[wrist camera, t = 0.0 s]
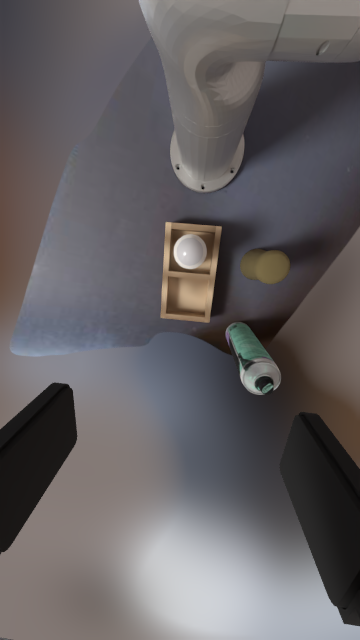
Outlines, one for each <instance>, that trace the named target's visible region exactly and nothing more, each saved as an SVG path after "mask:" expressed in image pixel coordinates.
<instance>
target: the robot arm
mask: <svg viewBox="0 0 360 640" xmlns="http://www.w3.org/2000/svg"><path fill="white" fill-rule="evenodd" d="M139 3H140V6H141V9H142V12H143V15H144V17H145V20H146V23H147V25H148V27H149V30H150V32H151V35H152V37H153V40H154V42H155V44H156V46H157V49H158V51H159V54H160V57H161V60H162V64H163V68H164V72H165V77H166V82H167V88H168V93H169V99H170V105H171V110H172V116H173V122H174V128H175V130H174V132H173V136H172V139H171V146H170V156H171V162H172V166H173V169H174V171H175V174H176V176H177V177H178V179H179V180H180V182H181V183H182V184H183V185H184V186H186V187H187V188H189V189H190V190H192V191H195V192H198V193H212V192H215V191H218V190H220V189H221V188H223V187H224V186H226V185H227V184H228V183H229V182H230V181H231V180H232V179H233V178H234V176H235V175H236V173H237V171H238V169H239V167H240V165H241V162H242V159H243V155H244V148H245V142H244V134H243V132H244V130H245V127H246V124H247V122H248V119H249V117H250V114H251V111H252V109H253V106H254V104H255V101H256V98H257V96H258V93H259V90H260V87H261V84H262V80H263V76H264V70H265V62H266V61H288V62H314V63H348V62H358V61H360V0H139ZM178 167H179V168H180V169H179V170H177V168H178ZM230 171H233V173H230ZM202 187H204V189H202ZM76 440H77V430H76V419H75V410H74V400H73V390H72V389H71V388H70V387H69V385H68V384H62V383H52V384H51V385H50V386H48V387H47V388H46V389H45V390H44V391H43V392H42V393H41V394H40V395H38V396H37V397H36V398H35V399H34V400H33V401H32V402H31V403H29V404H28V405H27V406H26V407H25V408H24V409H23V410H22V411H20V413H18V414H17V415H16V416H15V417H14V418H13V419H12V420H10V421H9V422H8V423H7V424H6V425H5V426H4V427H3V428H1V429H0V554H1V552H5V551H6V550H7V549H8V548H9V547H10V546H11V544H12V543H13V541H14V540H15V538H16V536H17V535H18V533H19V532H20V530H21V529H22V527H23V525H24V524H25V522H26V521H27V519H28V518H29V516H30V514H31V513H32V511H33V510H34V508H35V507H36V505H37V504H38V502H39V500H40V499H41V497H42V496H43V494H44V493H45V491H46V489H47V488H48V486H49V485H50V483H51V482H52V480H53V479H54V477H55V475H56V474H57V472H58V471H59V469H60V468H61V466H62V464H63V463H64V461H65V460H66V458H67V457H68V455H69V453H70V452H71V450H72V448H73V447H74V445H75V443H76ZM280 471H281V475H282V477H283V480H284V483H285V485H286V488H287V490H288V493H289V496H290V498H291V501H292V503H293V506H294V508H295V511H296V514H297V516H298V519H299V522H300V524H301V526H302V529H303V532H304V535H305V537H306V540H307V542H308V545H309V548H310V550H311V553H312V555H313V558H314V560H315V563H316V566H317V568H318V571H319V574H320V576H321V579H322V581H323V584H324V587H325V589H326V591H327V594H328V596H329V599H330V600H331V602H332V603H333V605H334V606H337V608H338V610H339V613H340V615H341V618H342V620H343V622H344V624H350V625H355V626H360V469H359V468H358V466H357V465H356V464H355V462H354V461H353V460H352V458H351V457H350V456H349V454H348V453H347V452H346V450H345V449H344V448H343V447H342V445H341V444H340V443H339V441H338V440H337V439H336V437H335V436H334V435H333V433H332V432H331V431H330V429H329V428H328V427H327V425H326V424H325V423H324V421H323V420H322V419H321V418H320V416H319V415H317V414H313V413H306V412H300V413H299V415H296V416H295V418H294V420H293V424H292V427H291V430H290V433H289V436H288V439H287V443H286V446H285V449H284V453H283V455H282V458H281V462H280ZM0 640H11V639H5V638H0Z"/></svg>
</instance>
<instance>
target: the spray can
mask: <svg viewBox="0 0 360 640" xmlns="http://www.w3.org/2000/svg"><path fill="white" fill-rule="evenodd" d="M226 338H227V341H228V344H229V347H230V349H231V352H232V355H233V357H234V361H235V363H236V366H237V369H238V372H239V375H240V378H241V380H242V383H243V384H244V386H245V388H246V389H247V390H248V391H250V392H251V393H254V394H260V395H262V394H265V395H269V394H271V393H272V392H273V390H275V389H276V388H277V387H278V385H279V384H280V381H281V374H280V371H279V369H278V367H277V366H276V364H275V363H274V362H273V360H272V358H271V357H270V356H269V354H268V353H267V351H266V350H265V349H264V347H263V346H262V345H261V343H260V342H259V340H258V339H257V338H256V336H255V335H254V333H253V332H252V331H251V329H250V328H249V327H248V326H247V325H246V324H245V323H242V322H235V323H233V324H231V325H230V326H229V327H228V328H227V330H226Z"/></svg>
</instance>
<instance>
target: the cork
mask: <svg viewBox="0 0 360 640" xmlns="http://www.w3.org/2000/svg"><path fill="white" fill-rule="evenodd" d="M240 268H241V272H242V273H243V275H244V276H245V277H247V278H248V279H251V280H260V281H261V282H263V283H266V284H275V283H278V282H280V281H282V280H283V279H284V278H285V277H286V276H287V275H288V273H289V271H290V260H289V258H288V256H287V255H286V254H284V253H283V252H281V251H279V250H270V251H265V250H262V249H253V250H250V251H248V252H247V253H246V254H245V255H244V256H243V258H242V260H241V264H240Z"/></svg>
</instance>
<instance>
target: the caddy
mask: <svg viewBox="0 0 360 640" xmlns="http://www.w3.org/2000/svg"><path fill="white" fill-rule="evenodd" d="M221 230H222V227H221V226H209V225H196V224H183V223H170V222H166V229H165V247H164V266H163V284H162V303H161V318H168V319H178V320H188V321H198V322H208V323H209V321H210V313H211V305H212V298H213V290H214V283H215V275H216V268H217V260H218V253H219V245H220V237H221ZM187 234H194V235H197V236H199V237H200V238H201V239H202V240H203V241H204V243H205V245H206V248H207V255H206V258H205V260H204V262H203V263H202V264H201V265H200V266H199V267H197V268H194V269H186V268H183V267H181V266H180V265H179V264H178V263H177V262H176V260H175V257H174V246H175V244H176V242H177V241H178V240H179V239H180V238H181V237H182V236H184V235H187Z"/></svg>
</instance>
